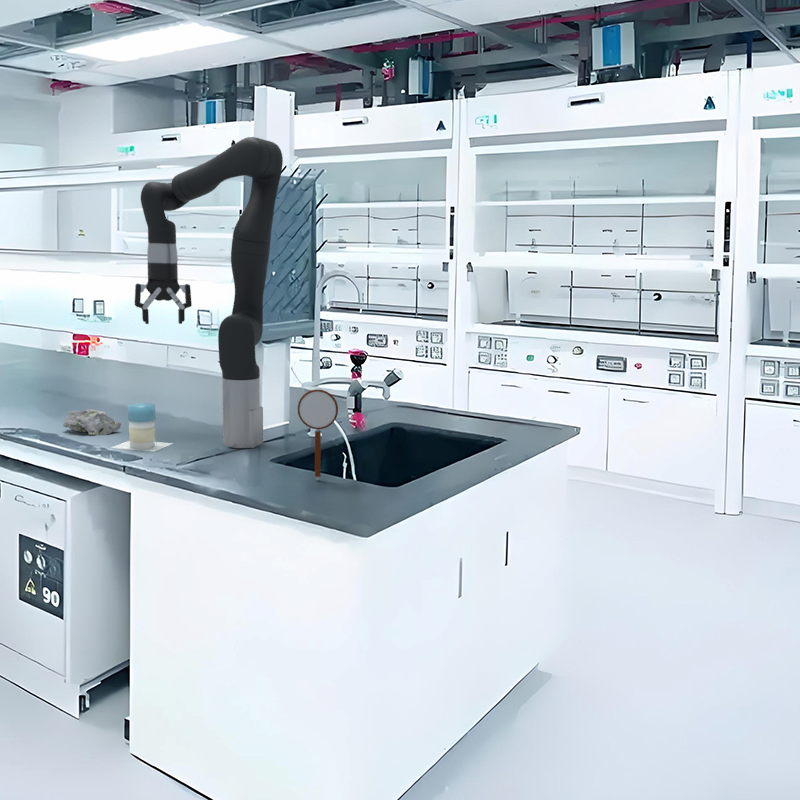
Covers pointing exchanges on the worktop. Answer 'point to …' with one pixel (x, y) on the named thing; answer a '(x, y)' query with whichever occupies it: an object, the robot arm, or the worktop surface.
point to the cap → (141, 412)
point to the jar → (142, 435)
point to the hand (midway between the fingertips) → (163, 323)
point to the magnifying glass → (317, 417)
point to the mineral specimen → (91, 422)
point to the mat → (127, 446)
